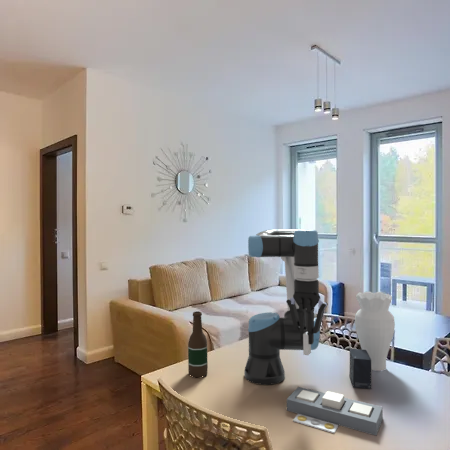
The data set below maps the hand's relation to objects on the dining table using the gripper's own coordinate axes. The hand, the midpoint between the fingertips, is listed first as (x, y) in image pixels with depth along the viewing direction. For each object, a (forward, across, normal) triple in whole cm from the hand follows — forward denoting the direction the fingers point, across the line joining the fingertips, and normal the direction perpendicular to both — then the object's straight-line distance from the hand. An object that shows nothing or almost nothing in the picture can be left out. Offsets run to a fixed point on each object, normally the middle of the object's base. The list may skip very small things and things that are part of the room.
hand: (307, 353), depth 115 cm
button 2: (+14, +8, -1) cm, 16 cm away
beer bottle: (+17, -45, +2) cm, 48 cm away
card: (+17, +5, -8) cm, 19 cm away
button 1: (+15, 0, -1) cm, 15 cm away
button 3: (+15, +16, -1) cm, 22 cm away
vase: (+17, +12, +43) cm, 48 cm away
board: (+17, +8, -1) cm, 19 cm away
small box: (+17, +10, +26) cm, 33 cm away
